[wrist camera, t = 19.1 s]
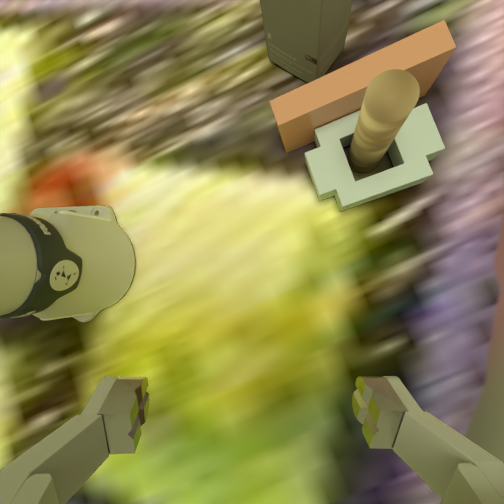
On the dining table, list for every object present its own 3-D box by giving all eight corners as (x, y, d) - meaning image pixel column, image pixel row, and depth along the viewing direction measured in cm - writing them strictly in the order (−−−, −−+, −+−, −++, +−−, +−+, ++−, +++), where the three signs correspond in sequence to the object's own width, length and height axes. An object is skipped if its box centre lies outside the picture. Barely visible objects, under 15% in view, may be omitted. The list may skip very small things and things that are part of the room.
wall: (424, 95, 34) (456, 47, 26) (286, 153, 38) (278, 125, 30) (415, 74, 34) (444, 20, 27) (279, 133, 38) (269, 101, 31)
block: (439, 176, 33) (452, 167, 30) (325, 217, 36) (325, 212, 33) (409, 102, 34) (419, 85, 31) (300, 147, 37) (298, 136, 34)
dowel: (344, 170, 36) (360, 116, 23) (350, 140, 36) (370, 68, 22) (376, 174, 35) (413, 121, 22) (383, 143, 35) (424, 70, 22)
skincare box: (268, 62, 39) (236, -67, 24) (299, 16, 38) (286, -149, 23) (318, 91, 37) (318, -28, 22) (351, 43, 36) (375, -115, 21)
